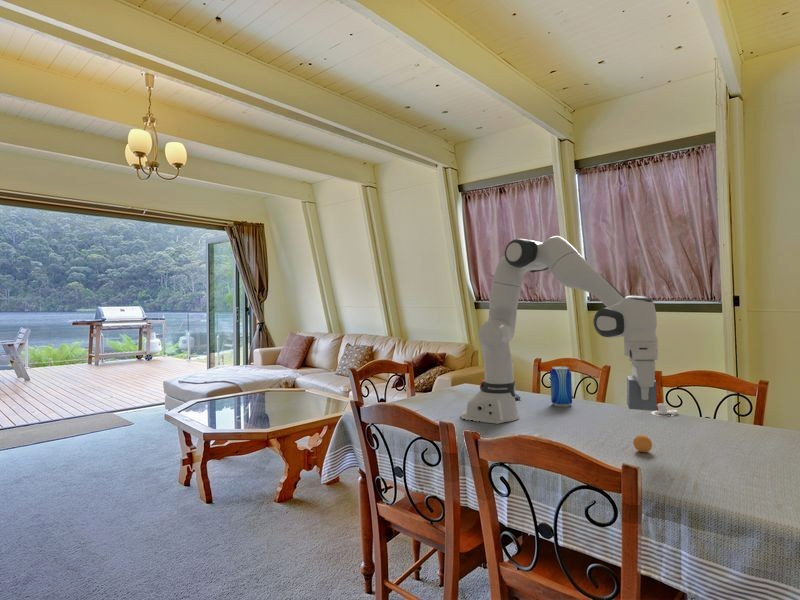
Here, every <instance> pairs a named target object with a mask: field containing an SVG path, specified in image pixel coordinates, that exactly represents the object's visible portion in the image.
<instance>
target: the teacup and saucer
mask: <svg viewBox="0 0 800 600" xmlns="http://www.w3.org/2000/svg"><path fill="white" fill-rule="evenodd" d="M656 407H657V409H658V410H657V409H656V411H651V412H650V414H652V415H653V416H658V417H661V416H662V417H666V418H667V416H668V415H669V414H671V413H672V414H671V417H674V416H676V415H678V414H679V411H678V410H677V409H670V410H668V404H667V403H661V402H660V403H657V404H656ZM656 413H659V414H656ZM665 414H666V415H665Z"/></svg>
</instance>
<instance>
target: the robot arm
mask: <svg viewBox="0 0 800 600" xmlns="http://www.w3.org/2000/svg"><path fill="white" fill-rule="evenodd" d="M547 270H549V271H550V273H552V275H553V277H554V278H555V279H556V280H557V281H558V282H559V283H561V284H562V285H563V286H564V287H566V288H571V289H576V290H580V291H584V292H588V293H590V294H592V295H593V296H595V297H596V298H597V299H598V300H599V301H600V302H601V303H602V304H603V305H605V307H603V308H600V309H598V310H597V311H596V313H595V314H594V317H593V321H592V322H593V327H594V329H595V331H596V332H597V334H598V335H600V336H601V337H604V338H608V339H609V338H610V339H611V338H621V337H623V345H624V347H623V348H624V349H623V350H624V355H625V356H626V357H628V358H629V362H631V374H632V376H634V377H635V378H636V380H637V383H638V384H639V386H640V388H641V398H642V400H648V393H649V387H653V386H654V380H655V381H656V377H655V376H656V361H657V360H658V356H659V349H658V347H659V345H658V338H657V337H658V336H657V333H656V330H657V325H658V323H657V311H656V307H655V303H654V301H653V300H652V299H651V298H649V297H647V296H644V295H628V296H624V294H622V293H621V292H620V291H619V290H618V289H617V288H616V287H615V286H614V285H613V284H612V283H611V282H610V281H609V280H608V279H607V278H606V277H605V276H604V275H603V274H602V273H600V272H598V271H597V270H596V269H595V268H594V267H593V266H591V264H590V263H589V262H588V261H587V260H586V259H585V258H584V257H583V256H582V255H581V253H580V252H579V251H578V250H577V249H576V248H575V247H574V245H572V244H571V243H569V242H568V241H567V240H566V239H564V237H561V236H559V235H555V236H554V235H553V236H550V237H548V238H547V239H546V240H545V241H544V242H541V241H539V240H536V239H535V240H534V239H527V238H514V239H513V240H511V241H509V242H508V244H507V245H506V246H505V250H504V256H502V257H501V258H500V259H499V261H498V263H497V266H496V268H495V272H494V274H493V279H492V284H491V288H490V294H489V297H488V298H489V299H488V305H489V307H488V308H489V309H488V310H489V311H488V319H487V320H486V321H485V322H483V323H482V324H481V325H480V327H479V329H478V335H477V336H478V340H479V342H480V347H481V348H480V349H481V352H482V357H483V358H482V359H483V363H484V364H483V366H484V367H483V369H484V379H482V380H481V381H480V383H479V389H480V390H479V391H478V392H477V393H475V394H474V395H473V396H472V397H470V398H469V399H468V401H467V405H466V409H465V410H463V411H462V412H461V415H460V418H461V419H462V420H463V419H465V421H471V420H473V422H479V421H480V423H488V424H489V423H490V424H495V425H496V424H498V425H500V424H502V423H506V422H508V423H509V422H513V421H516V420H518V419H520V415H519V413H518V409H517V408H518V407H517V402H516V400H515V393H516V384H515V382H516V381H514V362H513V361H514V360H513V359H512V354H511V353H512V352H511V348H510V342H511V341H512V340H513V338H514V336H515V331H516V323H517V314H518V306H519V305H518V304H519V300H520V296H521V290H522V285H523V279H524V277H525V274H526V273H528V272H530V273H537V272H545V271H547Z"/></svg>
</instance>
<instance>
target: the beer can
mask: <svg viewBox="0 0 800 600" xmlns="http://www.w3.org/2000/svg"><path fill="white" fill-rule="evenodd" d="M549 375H550V376H549V378H550V402H551V403H552V404H553V406H555V407H558V408H568V407H571V406H572V404H573V392H572V391H573V388H572V386H573V385H572V384H573V383H572V372H571V370H570V367H568V366H564V365H562V366H561V365H559V366H558V365H557V366H552V368H551V371H550V374H549Z"/></svg>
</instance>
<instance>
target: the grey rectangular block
mask: <svg viewBox="0 0 800 600" xmlns="http://www.w3.org/2000/svg"><path fill="white" fill-rule="evenodd" d="M626 405H627V407H628V409H629V410H639V411H649V412H650V411H651V412H653V411H656V410H657V406H656V405H657V381H656V379H655V380H654V386H653V387H649V393H648V400H642V398H641V388H640V386H639V384H638V383H637V380H636V378H635V377H634V376H633V375H626Z"/></svg>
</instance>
